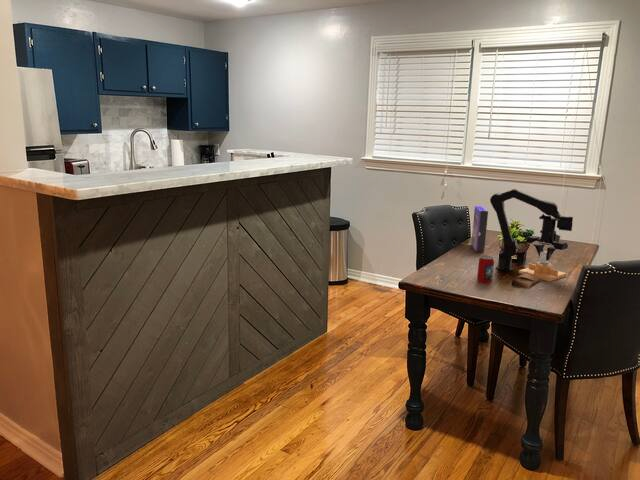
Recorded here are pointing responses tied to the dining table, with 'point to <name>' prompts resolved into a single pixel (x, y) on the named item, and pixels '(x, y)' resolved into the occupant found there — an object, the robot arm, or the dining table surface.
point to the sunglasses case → (525, 281)
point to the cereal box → (479, 228)
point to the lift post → (543, 257)
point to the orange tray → (543, 271)
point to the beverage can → (485, 269)
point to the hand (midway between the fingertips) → (544, 259)
